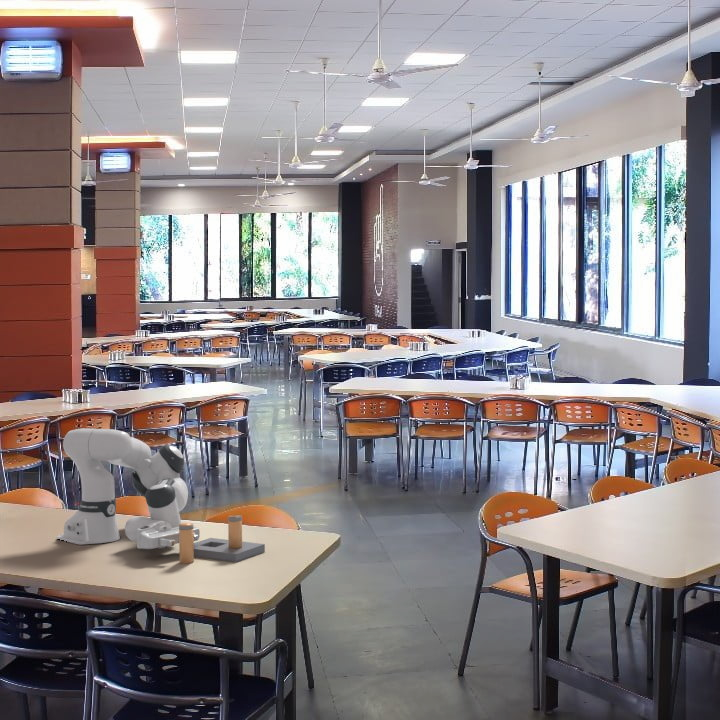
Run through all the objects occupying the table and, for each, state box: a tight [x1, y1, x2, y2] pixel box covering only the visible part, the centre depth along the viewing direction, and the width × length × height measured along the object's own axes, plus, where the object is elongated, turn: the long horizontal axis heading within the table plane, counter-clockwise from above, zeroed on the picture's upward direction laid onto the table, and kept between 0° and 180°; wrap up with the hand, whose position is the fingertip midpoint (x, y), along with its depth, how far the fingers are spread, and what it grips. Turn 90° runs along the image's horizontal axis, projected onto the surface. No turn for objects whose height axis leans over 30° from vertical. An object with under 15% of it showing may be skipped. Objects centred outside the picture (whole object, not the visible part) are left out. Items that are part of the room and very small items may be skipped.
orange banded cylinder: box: [178, 522, 195, 565], centre depth 314 cm, size 4×4×12 cm
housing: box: [194, 514, 266, 563], centre depth 325 cm, size 22×16×12 cm
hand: (184, 540), depth 316 cm, fingers open, 8 cm apart
